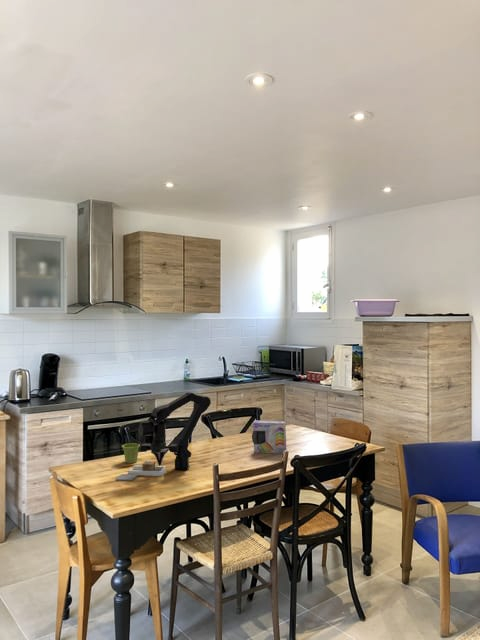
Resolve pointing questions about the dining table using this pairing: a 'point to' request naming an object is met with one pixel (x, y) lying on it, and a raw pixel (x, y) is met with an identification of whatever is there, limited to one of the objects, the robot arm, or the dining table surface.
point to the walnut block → (148, 466)
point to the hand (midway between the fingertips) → (159, 465)
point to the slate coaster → (126, 477)
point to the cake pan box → (269, 436)
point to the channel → (158, 471)
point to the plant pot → (131, 452)
